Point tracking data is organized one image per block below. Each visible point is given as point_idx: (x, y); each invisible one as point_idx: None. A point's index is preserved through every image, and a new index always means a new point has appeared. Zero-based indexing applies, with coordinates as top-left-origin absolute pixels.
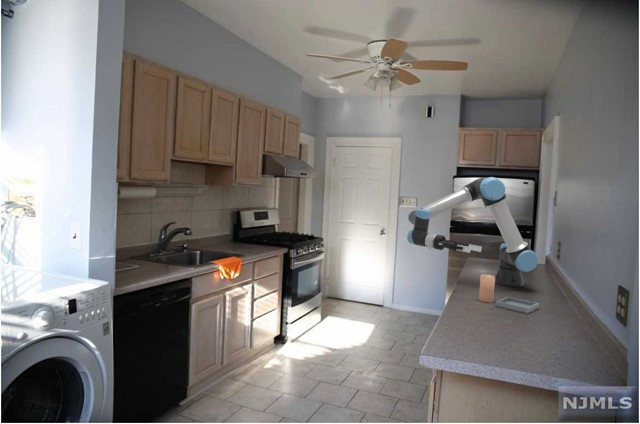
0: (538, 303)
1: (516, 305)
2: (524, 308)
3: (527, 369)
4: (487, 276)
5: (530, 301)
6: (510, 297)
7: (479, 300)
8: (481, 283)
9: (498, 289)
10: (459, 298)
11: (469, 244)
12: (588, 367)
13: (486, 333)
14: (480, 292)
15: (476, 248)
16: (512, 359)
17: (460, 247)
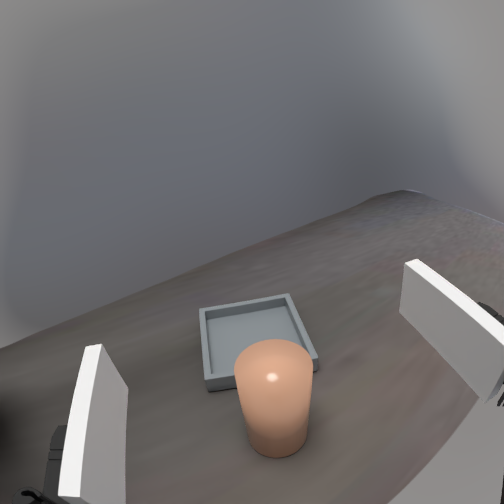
0: (203, 308)
1: (293, 314)
2: (291, 299)
3: (466, 211)
4: (294, 355)
5: (200, 324)
6: (208, 371)
7: (303, 443)
8: (309, 398)
9: None
10: (363, 494)
11: (80, 486)
12: (401, 202)
13: (468, 263)
14: (307, 423)
15: (110, 409)
16: (471, 222)
17: (493, 316)
